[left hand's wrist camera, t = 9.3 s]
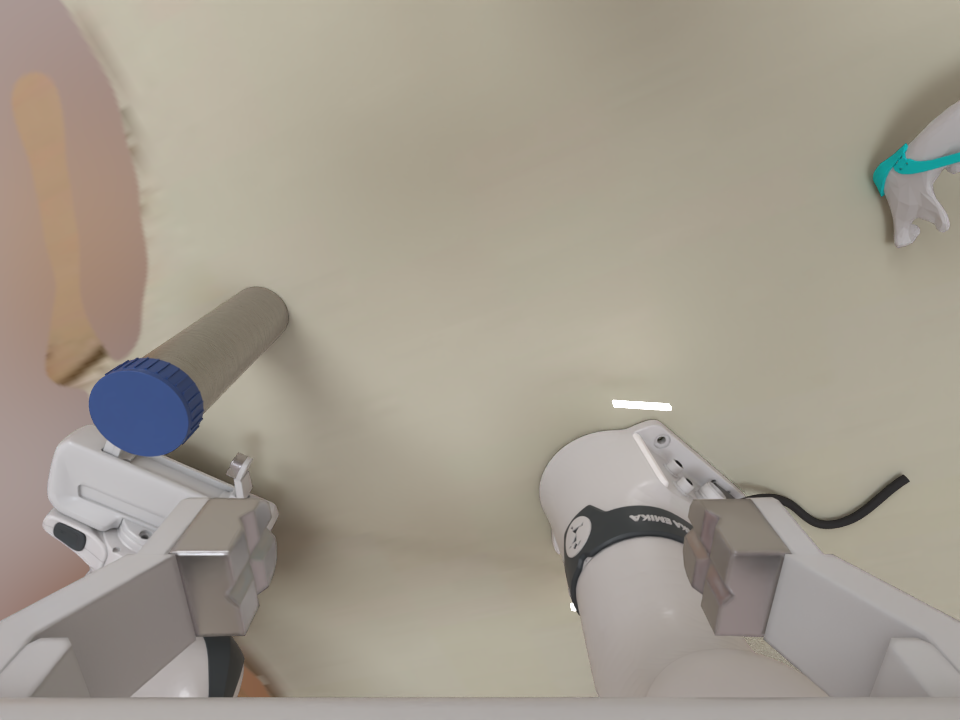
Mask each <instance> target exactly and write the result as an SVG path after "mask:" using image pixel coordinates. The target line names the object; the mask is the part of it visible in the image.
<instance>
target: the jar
mask: <svg viewBox="0 0 960 720" xmlns="http://www.w3.org/2000/svg"><path fill="white" fill-rule="evenodd" d="M287 324H288V311H287V308H286V306H285V304H284V302H283V301H282V299H281V298H280V297H279V296H278V295H277V294H275V293H274V292H272V291H271V290H268V289H266V288H262V287H250V288H246V289H244V290H242V291H241V292H239V293H238V294H236V295H235V296H233V297H232V298H230V299H229V300H227V301H226V302H224V303H223V304H221V305H220V306H218V307H217V308H215V309H214V310H212V311H211V312H209V313H208V314H206V315H205V316H203V317H202V318H201V319H199V320H198V321H196V322H195V323H193V324H192V325H190V326H189V327H187V328H186V329H184V330H183V331H181V332H180V333H178V334H177V335H175V336H174V337H172V338H171V339H169V340H168V341H166V342H165V343H163V344H162V345H160V346H159V347H157V348H156V349H154V350H153V351H151V352H150V353H148V354H147V355H146V356H144V357H143V358H147V357H149V358H153V359H160V360H163V361H166V362H169V363H171V364H173V365H175V366H176V367H178V368H180V369H181V370H182V371H184V372H185V373H186V374H188V375H189V377H190V378H191V379H192V380H193V381H194V383H196V386H197V387H198V389H199V391H200V392H201V396H202V400H203V401H204V402H203V408H204V412H203V414H204V413H205V412H206V411H207V410H208V409H209V408H210V407H211V406H212V405H213V404H214V403H215V402H216V400H217V399H218V398H219V397H220V396H221V395H222V394H223V393H224V392H225V391H226V390H227V389H228V388H229V387H230V386H231V385H232V384H233V383H234V382H235V381H236V380H237V379H238V378H239V377H240V376H241V375H242V374H243V373H244V372H245V371H246V370H247V369H248V368H249V367H250V366H251V365H252V364H253V363H254V362H255V360H256V359H257V358H258V357H259V356H260V355H261V354H262V353H263V352H264V351H265V350H266V349H267V348H268V347H269V346H270V345H271V344H272V343H273V342H274V341H275V340H276V339H277V338H278V337H279V336H280V335H281V334H282V333H283V332H284V330H285V329H286V327H287Z"/></svg>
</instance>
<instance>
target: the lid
mask: <svg viewBox="0 0 960 720" xmlns="http://www.w3.org/2000/svg"><path fill="white" fill-rule="evenodd" d="M105 375H106V376H104V377H103V378H101V379H100V380H99V381H98V382H97V383H96V384H95V386H94V387H93V389H92V391H91V394H90V398H89V411H90V415H91V418H92V420H93V423H94V424H95V426H96V428H97V429H98V431H99V432H100V433H101V434H102V435H103V436H104V437H105V438H106V439H107V440H108V441H109V442H110V443H112V444H113V445H114V446H116V447H118V448H119V449H121V450H123V451H126V452H128V453H131V454H134V455H139V456H146V457H154V456H161V455H165V454H167V453H170V452H172V451H174V450H175V449H176V448H178V447H179V446H180V445H181V444H182V445H183V444H184V443H185V442H186V441H187V439H188V438H189V437H190V436H191V435H192V434H193V433H194V432H195V431H196V430H197V428H198V427H199V424H200V422H201V421H202V420H203V418H202V416H203V412H204V408H203V402H204V401H203V400H202V396H201V392H200V391H199V389H198V387H197V386H196V383H194V381H193V380H192V379H191V378H190V377H189V375H188V374H186V373H185V372H184V371H182V370H181V369H180V368H178V367H176V366H175V365H173V364H171V363H169V362H166V361H163V360H160V359H153V358H149V357H147V358H136V359H134V360H131V361H129V360H127V361H126V362H124V363H123V364H121V365H119V366H117V367H115V368H114V369H112V370H111V371H109V372H108V373H106V374H105Z"/></svg>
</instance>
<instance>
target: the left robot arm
mask: <svg viewBox="0 0 960 720" xmlns="http://www.w3.org/2000/svg"><path fill="white" fill-rule="evenodd" d="M271 518H272V514H271V509H270V504H269V502H268V501H267V500H266V499H257V498H186V499H183V500H181V501H180V502H179V504H178V505H177V506H176V507H175V508H174V510H173V511H172V512H171V513H170V514H169V516H168V517H167V518H166V519H165V520H164V521H163V523H162V524H161V525H160V526H159V527H158V529H157V530H156V531H155V532H154V533H153V535H152V536H151V537H150V538H149V539H148V541H147V542H146V543H145V544H144V545H143V546H142V548H141V549H140V550H139V551H138V552H137V554H127V555H125V556H123V557H121V558H119V559H117V560H115V561H114V562H112V563H110V564H108V565H106V566H104V567H102V568H100V569H98V570H96V571H95V572H93V573H91V574H89V575H87V576H85V577H83V578H81V579H79V580H77V581H75V582H74V583H72V584H70V585H68V586H66V587H64V588H62V589H60V590H58V591H56V592H55V593H53V594H51V595H49V596H47V597H45V598H43V599H41V600H39V601H37V602H36V603H34V604H32V605H30V606H28V607H26V608H24V609H22V610H20V611H18V612H16V613H15V614H13V615H11V616H9V617H7V618H5V619H3V620H1V621H0V720H960V621H958V620H957V619H955V618H953V617H951V616H949V615H947V614H945V613H943V612H941V611H939V610H938V609H936V608H934V607H932V606H930V605H928V604H926V603H924V602H922V601H920V600H919V599H917V598H915V597H913V596H911V595H909V594H907V593H905V592H903V591H901V590H900V589H898V588H896V587H894V586H892V585H890V584H888V583H886V582H884V581H882V580H881V579H879V578H877V577H875V576H873V575H871V574H869V573H867V572H865V571H863V570H862V569H860V568H858V567H856V566H854V565H852V564H850V563H848V562H846V561H844V560H843V559H841V558H839V557H837V556H835V555H833V554H823V552H822V551H821V550H820V549H819V548H818V547H817V545H816V544H815V543H814V542H813V541H812V539H811V538H810V537H809V536H808V535H807V533H806V532H805V531H804V530H803V529H802V528H801V526H800V525H799V524H798V523H797V522H796V520H795V519H794V518H793V517H792V516H791V514H790V513H789V512H788V511H787V510H786V509H785V507H784V506H783V505H782V504H781V503H780V501H779V500H777V499H775V498H773V497H761V498H746V499H693V501H692V503H691V505H690V508H689V513H688V518H689V520H690V522H691V524H692V526H693V528H692V529H691V530H690V531H689V532H688V533H687V534H686V535H685V537H684V544H683V561H684V568H685V571H686V575H687V578H688V580H689V582H690V584H691V586H692V588H694V589H695V590H697V591H698V592H699V593H701V594H702V595H703V596H702V601H701V608H702V610H703V612H704V614H705V616H706V618H707V620H708V622H709V624H710V626H711V628H712V630H713V632H714V634H715V636H747V637H764V640H765V641H766V642H767V643H768V644H769V645H771V646H772V647H773V648H774V649H775V650H776V651H778V652H779V653H780V654H781V655H782V656H783V657H784V658H786V659H787V660H788V661H789V662H790V663H791V664H793V665H794V666H795V667H796V668H797V669H798V670H800V671H801V672H802V673H803V674H804V675H805V676H806V677H808V678H809V679H810V680H811V681H812V682H813V683H815V684H816V685H817V686H818V687H819V688H820V689H821V690H823V691H824V692H825V693H826V694H827V695H828V696H830V697H131V696H132V695H133V694H134V693H135V692H136V691H138V690H139V689H140V688H141V687H142V686H143V685H144V684H146V683H147V682H148V681H149V680H150V679H151V678H153V677H154V676H155V675H156V674H157V673H158V672H160V671H161V670H162V669H163V668H164V667H165V666H166V665H168V664H169V663H170V662H171V661H172V660H173V659H175V658H176V657H177V656H178V655H179V654H180V653H182V652H183V651H184V650H185V649H186V648H187V647H188V646H190V645H191V644H192V643H193V642H194V641H195V640H196V637H212V636H245V634H246V632H247V630H248V628H249V626H250V624H251V622H252V620H253V618H254V616H255V614H256V612H257V610H258V608H259V601H258V596H257V595H258V594H259V593H261V592H262V591H263V590H265V589H266V588H268V586H269V584H270V582H271V580H272V578H273V575H274V571H275V566H276V562H277V543H276V537H275V535H274V534H273V533H272V532H271V531H270V530H269V529H268V528H267V526H268V524H269V522H270V520H271Z"/></svg>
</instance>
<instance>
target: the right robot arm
mask: <svg viewBox="0 0 960 720" xmlns="http://www.w3.org/2000/svg"><path fill="white" fill-rule="evenodd" d="M613 405H614V407H622V408H638V409H654V410H670V411H671V408H672V407H671V406H670V405H669V404H665V403H649V402H633V401H617V400H613ZM659 437H663V439H662V440H658V438H659ZM252 461H253V458H251V457H248V456H246V455H244V454H241V453H239V452H238V454H237V455H236V457H235V458H234V459H233V461H232V462H231V464H230V467H229V469H228V471H227V473H226V475H227V476H230V477H232V478H234V485H235V486H233V485H231V484H229V483H226V482H224V481H222V480H220V479H217V478H215V477H213V476H210V475H208V474H206V473H204V472H201V471H199V470H197V469H194V468H192V467H190V466H187V465H185V464H183V463H181V462H178V461H176V460H174V459H171V458H169V457H167V456H165V455H161V456H154V457H146V456H139V455H134V454H131V453H128V452H126V451H123V450H121V449H119V448H118V447H116V446H114V445H113V444H112V443H110V442H109V441H108V440H107V439H106V438H105V437H104V436H103V435H102V434H101V433H100V432H99V431H98V429H97V428H96V426H95V425H93V424H89V425H86V426H83V427H81V428H79V429H77V430H75V431H74V432H72V433H71V434H69V435H68V436H67V437H66V438H65V439H63V440H62V441H61V442H60V443H59V445H58V446H57V448H56V450H55V453H54V456H53V460H52V463H51V468H50V473H49V478H48V486H47V494H48V498H49V501H50V503H51V504H52V505H53V509H52V510H51V511H50V512H49V513H48V514H47V516H46V517H45V519H44V521H43V528H44V530H45V531H46V532H47V533H48V534H50V535H51V536H53V537H54V538H56V539H57V540H59V541H60V542H62V543H63V544H64V545H66V546H67V547H68V548H70V549H71V550H72V551H74V552H75V553H76V554H77V555H78V556H79V557H81V558H82V559H83V560H84V561H85V562H86V563H87V564H88V565H89V566H90V570H89V572H88V573H87V574H86V575H85V576H87V575H89V574H91V573H93V572H95V571H96V570H98V569H100V568H102V567H104V566H106V565H108V564H110V563H112V562H114V561H115V560H117V559H119V558H121V557H123V556H125V555H127V554H137V552H138V551H139V550H140V549H141V548H142V546H143V545H144V544H145V543H146V542H147V541H148V539H149V538H150V537H151V536H152V535H153V533H154V532H155V531H156V530H157V529H158V527H159V526H160V525H161V524H162V523H163V521H164V520H165V519H166V518H167V517H168V516H169V514H170V513H171V512H172V511H173V510H174V508H175V507H176V506H177V505H178V504H179V502H180V501H181V500H183V499H186V498H257V499H263V498H261V497H259V496H256V495H254V494H252V493H250V491H251V489H252V487H253V486H252V482H251V478H250V474H249V471H248V469H249V467H250V465H251V463H252ZM908 482H910V481H909V479H908V478H907V477H906V476H904V475H902V476H900V477H899V478H897V479H896V480H894V481H893V482H892V483H891V484H889V485H888V486H887V487H886V488H884V489H883V490H882V491H881V492H880V493H878V494H877V495H876V496H875V497H874V498H873V499H872V500H870V501H869V502H868V503H867V504H866V505H864V506H863V507H862V508H860V509H859V510H857V511H856V512H854V513H852V514H851V515H849V516H846V517H844V518H841V519H838V520H832V521H823V520H819V519H816V518H814V517H812V516H811V515H809V514H808V513H807V512H805V511H804V510H803V509H802V508H801V507H800V506H799V505H797V504H796V503H795V502H793V501H792V500H790V499H788V498H786V497H783V496H780V495H776V494H757V495H752V496H748V497H745V495H744V493H743V492H742V491H741V490H740V489H739V488H738V487H736V486H735V485H734V484H733V483H732V482H731V481H729V480H728V479H727V478H726V477H725V476H724V475H722V474H721V473H720V472H719V471H718V470H717V469H715V468H714V467H713V466H712V465H711V464H709V463H708V462H707V461H706V460H705V459H704V458H702V457H701V456H700V455H699V454H698V453H697V452H695V451H694V450H693V449H692V448H691V447H690V446H688V445H687V444H686V443H685V442H684V441H683V440H681V439H680V438H679V437H678V436H677V435H675V434H674V433H673V432H672V431H671V430H670V429H668V428H667V427H666V426H665V425H664V424H663V423H661V422H660V421H658V420H647V421H644V422H641V423H639V424H637V425H634V426H632V427H630V428H627V429H622V430H608V431H600V432H595V433H591V434H588V435H585V436H582V437H580V438H578V439H576V440H574V441H572V442H570V443H569V444H567V445H566V446H564V447H563V448H562V449H561V450H559V451H558V452H557V453H556V454H555V455H554V457H553V458H552V459H551V460H550V462H549V463H548V465H547V466H546V468H545V470H544V472H543V475H542V477H541V481H540V487H539V497H540V502H541V506H542V509H543V511H544V513H545V515H546V517H547V519H548V521H549V523H550V525H551V528H552V543H553V546H554V549H555V551H556V552H557V553H558V554H560V555H561V557H562V560H563V563H564V566H565V572H566V577H567V582H568V587H569V588H568V590H569V595H570V597H571V599H572V602H573V603H571V610H572V611H577V613H578V614H579V615H580V618H581V623H582V628H583V633H584V638H585V643H586V648H587V652H588V657H589V662H590V667H591V672H592V676H593V681H594V685H595V689H596V692H597V694H598V696H599V697H830V696H828V695H827V694H826V693H825V692H824V691H823V690H821V689H820V688H819V687H818V686H817V685H816V684H815V683H813V682H812V681H811V680H810V679H809V678H808V677H806V676H805V675H804V674H803V673H801V672H800V671H798V670H796V669H795V668H793V667H791V666H789V665H787V664H785V663H783V662H781V661H778V660H776V659H774V658H771V657H768V656H765V655H762V654H759V653H755V652H754V651H753V649H752V648H751V647H750V645H749V644H748V643H747V641H746V640H745V638H744V637H743V636H715V634H714V632H713V630H712V628H711V626H710V624H709V622H708V620H707V618H706V616H705V614H704V612H703V610H702V608H701V601H702V596H703V595H702V594H701V593H699V592H698V591H697V590H695V589H694V588H692V586H691V584H690V582H689V580H688V578H687V575H686V571H685V568H684V561H683V544H684V537H685V535H686V534H687V533H688V532H689V531H690V530H691V529H692V528H693V526H692V524H691V522H690V520H689V518H688V513H689V508H690V505H691V503H692V501H693V499H746V498H761V497H773V498H775V499H777V500H779V501H780V503H781V504H782V505H784V506H786V507H788V508H790V509H791V510H792V511H794V512H795V513H796V514H797V515H798V516H799V517H801V518H802V519H803V520H804V521H806V522H807V523H809V524H810V525H812V526H815V527H818V528H823V529H833V528H839V527H843V526H847V525H850V524H852V523H854V522H856V521H858V520H860V519H862V518H863V517H865V516H866V515H868V514H869V513H870V512H872V511H873V510H874V509H875V508H877V507H878V506H879V505H880V504H881V503H882V502H884V501H885V500H886V499H887V498H888V497H889V496H891V495H892V494H893V493H894V492H895V491H897V490H898V489H899V488H901V487H902V486H904V485H905V484H907V483H908ZM267 501H268V500H267ZM268 502H269V504H270V509H271V514H272V518H271V520H270V522H269V524H268V526H267V528H268V529H269V530H270V531H271V530H272V528H273V526H274V524H275V522H276V520H277V518H278V516H279V513H278V510H277V507H276V505H275V504H274V503H272V502H270V501H268ZM243 672H244V656H243V654H242V652H241V650H240V648H239V646H238V645H237V643H236V642H235V640H234V639H233V637H232V636H212V637H196V640H195V641H194V642H193V643H192V644H191V645H190V646H188V647H187V648H186V649H185V650H184V651H183V652H182V653H180V654H179V655H178V656H177V657H176V658H175V659H173V660H172V661H171V662H170V663H169V664H168V665H166V666H165V667H164V668H163V669H162V670H161V671H160V672H158V673H157V674H156V675H155V676H154V677H153V678H151V679H150V680H149V681H148V682H147V683H146V684H144V685H143V686H142V687H141V688H140V689H139V690H138V691H136V692H135V693H134V694H133V695H132V696H131V697H237V696H238V693H239V690H240V687H241V683H242V678H243Z"/></svg>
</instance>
